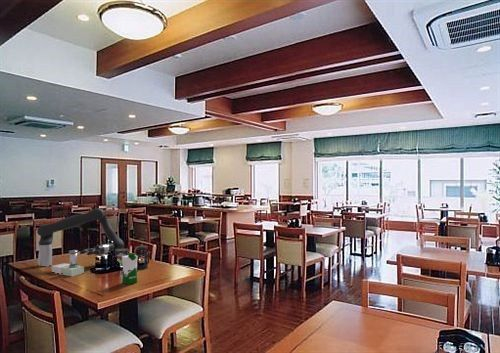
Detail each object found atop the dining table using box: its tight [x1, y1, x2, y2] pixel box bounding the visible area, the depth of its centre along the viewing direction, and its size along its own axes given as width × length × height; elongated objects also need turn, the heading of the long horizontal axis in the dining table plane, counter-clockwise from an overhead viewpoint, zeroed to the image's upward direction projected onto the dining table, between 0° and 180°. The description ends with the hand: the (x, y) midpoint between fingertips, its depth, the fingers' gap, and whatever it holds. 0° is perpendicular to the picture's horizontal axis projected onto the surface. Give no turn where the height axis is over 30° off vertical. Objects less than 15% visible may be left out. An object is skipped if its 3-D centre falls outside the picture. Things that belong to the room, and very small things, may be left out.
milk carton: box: [121, 252, 138, 286], centre depth 239 cm, size 9×9×20 cm
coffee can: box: [114, 247, 130, 266], centre depth 280 cm, size 10×10×14 cm
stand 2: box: [62, 264, 85, 277], centre depth 261 cm, size 10×10×5 cm
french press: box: [135, 238, 150, 271], centre depth 278 cm, size 12×9×23 cm
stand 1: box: [51, 262, 70, 275], centre depth 267 cm, size 10×10×5 cm
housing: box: [68, 249, 79, 268], centre depth 261 cm, size 6×6×12 cm
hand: (83, 253), depth 269 cm, fingers open, 8 cm apart
